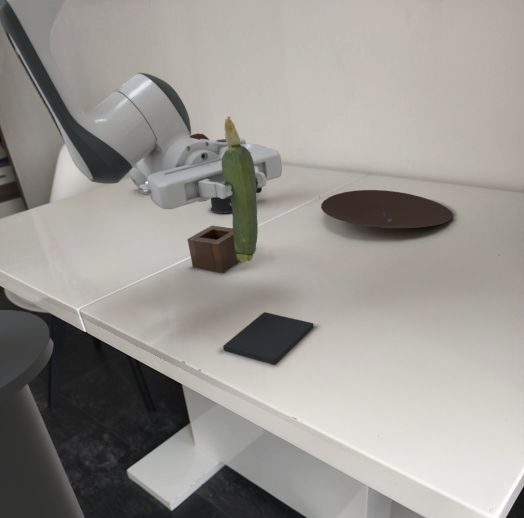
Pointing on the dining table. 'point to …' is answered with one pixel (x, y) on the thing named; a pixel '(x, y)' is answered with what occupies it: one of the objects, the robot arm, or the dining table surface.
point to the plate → (385, 209)
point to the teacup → (137, 176)
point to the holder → (213, 249)
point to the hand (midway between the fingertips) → (245, 186)
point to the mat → (268, 337)
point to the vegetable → (241, 193)
